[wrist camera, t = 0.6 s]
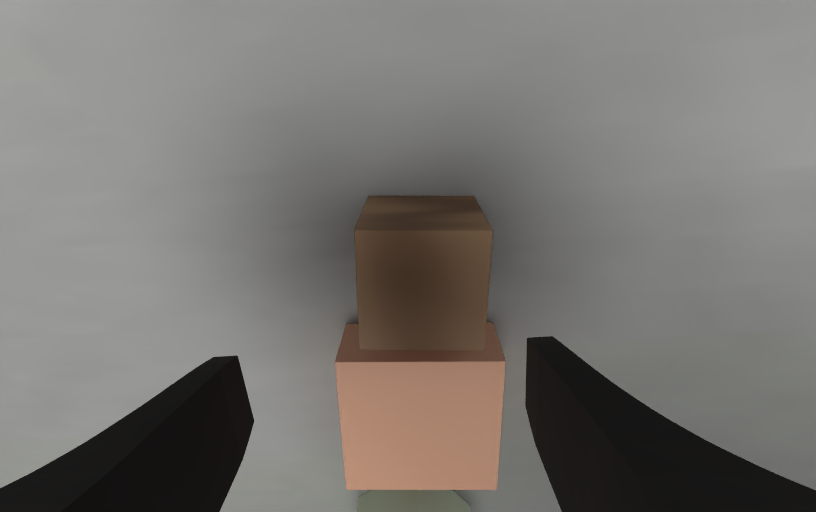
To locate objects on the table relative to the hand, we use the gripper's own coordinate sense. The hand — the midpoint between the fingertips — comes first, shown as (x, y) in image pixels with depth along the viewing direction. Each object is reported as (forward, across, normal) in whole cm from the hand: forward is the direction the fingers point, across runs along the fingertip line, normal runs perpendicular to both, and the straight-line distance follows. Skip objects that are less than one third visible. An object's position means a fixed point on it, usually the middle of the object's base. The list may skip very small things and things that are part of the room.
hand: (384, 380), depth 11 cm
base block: (+10, -1, +7) cm, 12 cm away
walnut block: (+10, -1, 0) cm, 10 cm away
